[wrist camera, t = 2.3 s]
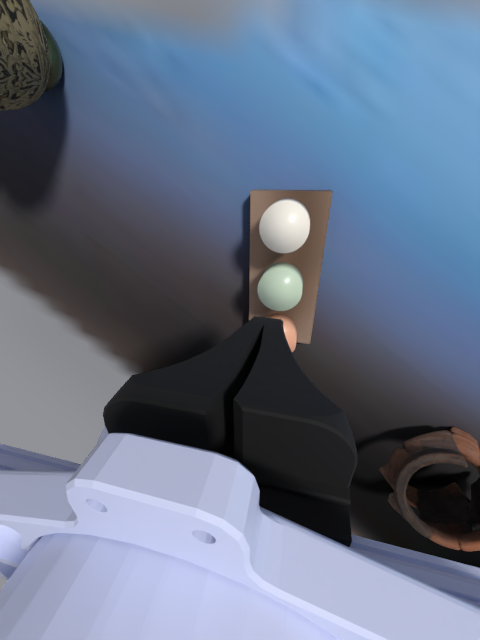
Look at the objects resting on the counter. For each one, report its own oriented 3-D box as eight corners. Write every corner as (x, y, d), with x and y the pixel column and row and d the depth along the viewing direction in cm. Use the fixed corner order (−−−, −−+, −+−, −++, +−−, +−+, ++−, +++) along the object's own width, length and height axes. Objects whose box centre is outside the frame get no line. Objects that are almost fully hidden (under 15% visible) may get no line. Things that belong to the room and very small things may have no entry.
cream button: (262, 245, 17) (258, 252, 16) (264, 198, 16) (259, 200, 15) (307, 247, 17) (306, 254, 15) (312, 198, 15) (312, 201, 14)
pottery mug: (362, 472, 30) (368, 522, 22) (393, 394, 29) (409, 419, 21) (494, 538, 25) (557, 630, 18) (535, 449, 25) (620, 505, 17)
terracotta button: (259, 342, 21) (255, 354, 20) (260, 311, 20) (256, 321, 18) (295, 347, 20) (294, 360, 19) (299, 315, 19) (298, 326, 18)
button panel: (251, 329, 23) (248, 336, 22) (254, 189, 18) (250, 190, 17) (310, 335, 22) (309, 343, 21) (331, 190, 17) (332, 191, 16)
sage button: (260, 298, 19) (256, 308, 18) (262, 260, 18) (258, 268, 16) (300, 302, 19) (299, 313, 17) (305, 263, 17) (304, 271, 16)
